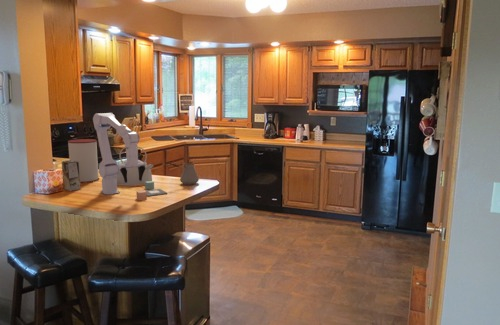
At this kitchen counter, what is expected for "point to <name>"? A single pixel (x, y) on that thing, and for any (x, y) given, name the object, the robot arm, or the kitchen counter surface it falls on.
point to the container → (85, 158)
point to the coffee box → (71, 175)
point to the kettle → (134, 173)
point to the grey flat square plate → (155, 192)
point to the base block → (149, 185)
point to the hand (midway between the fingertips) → (133, 181)
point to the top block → (141, 195)
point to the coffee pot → (188, 173)
